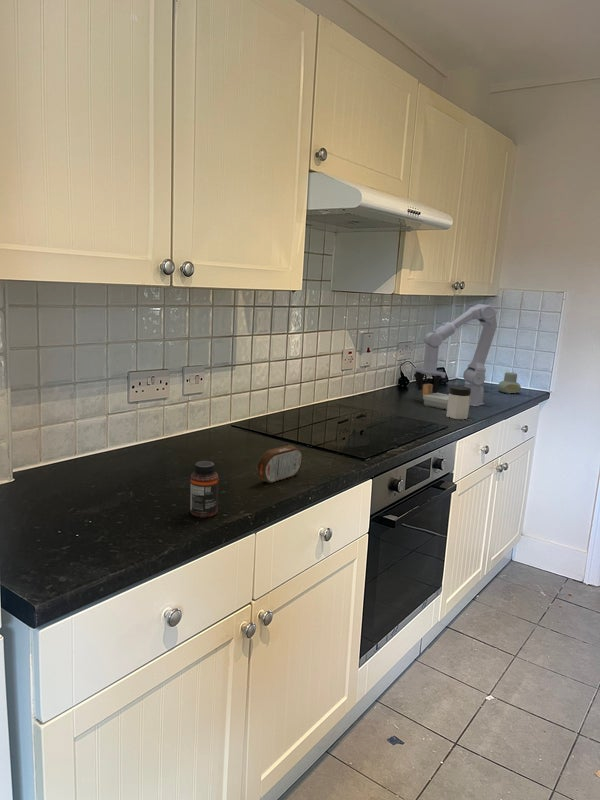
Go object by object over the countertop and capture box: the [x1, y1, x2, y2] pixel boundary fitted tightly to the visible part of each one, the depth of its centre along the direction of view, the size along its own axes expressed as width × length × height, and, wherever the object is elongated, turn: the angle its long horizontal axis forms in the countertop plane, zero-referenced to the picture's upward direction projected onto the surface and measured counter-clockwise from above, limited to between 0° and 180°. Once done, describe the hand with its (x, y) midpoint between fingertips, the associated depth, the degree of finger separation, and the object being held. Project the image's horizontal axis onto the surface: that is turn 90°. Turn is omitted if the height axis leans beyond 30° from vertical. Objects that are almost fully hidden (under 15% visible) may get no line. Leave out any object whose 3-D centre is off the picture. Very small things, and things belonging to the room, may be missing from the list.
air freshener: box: [497, 371, 522, 394], centre depth 303 cm, size 11×8×10 cm
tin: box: [256, 444, 304, 484], centre depth 155 cm, size 15×3×8 cm, turn 139°
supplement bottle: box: [189, 460, 219, 518], centre depth 130 cm, size 6×6×11 cm
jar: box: [445, 385, 471, 420], centre depth 240 cm, size 9×8×12 cm
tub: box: [423, 399, 448, 411], centre depth 259 cm, size 10×16×4 cm, turn 50°
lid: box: [422, 383, 471, 404], centre depth 259 cm, size 11×19×6 cm, turn 50°
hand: (427, 391), depth 264 cm, fingers open, 7 cm apart
